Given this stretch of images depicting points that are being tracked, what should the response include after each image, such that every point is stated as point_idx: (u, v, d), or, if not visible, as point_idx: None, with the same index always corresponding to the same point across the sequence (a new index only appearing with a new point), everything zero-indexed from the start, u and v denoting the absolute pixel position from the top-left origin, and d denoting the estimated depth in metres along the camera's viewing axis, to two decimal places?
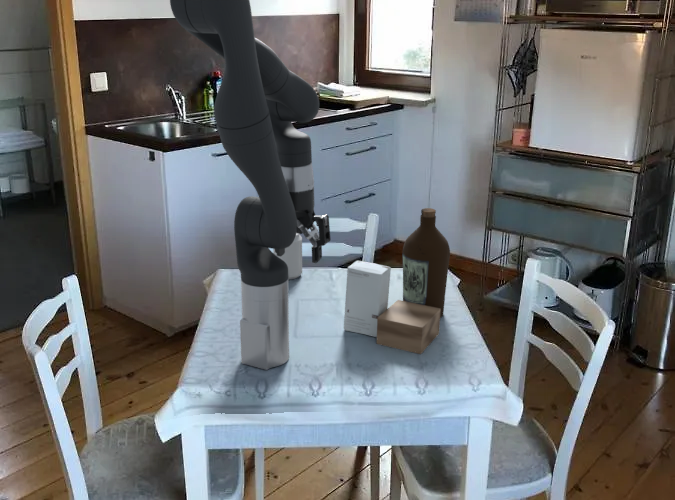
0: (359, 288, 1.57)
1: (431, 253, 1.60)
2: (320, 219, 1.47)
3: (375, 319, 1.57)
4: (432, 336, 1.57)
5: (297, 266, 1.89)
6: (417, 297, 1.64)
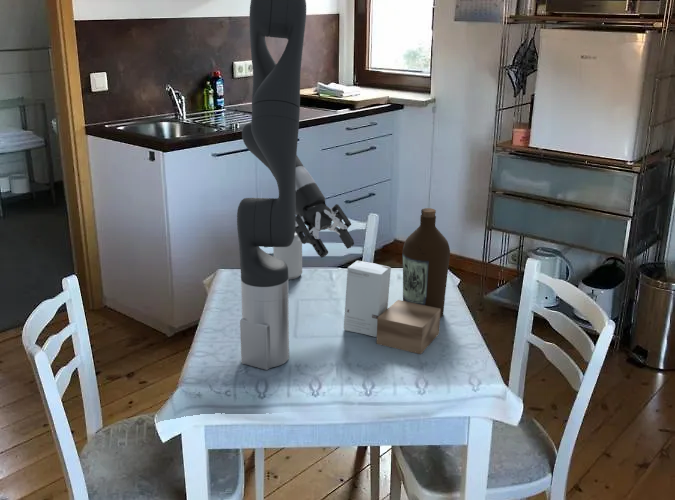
0: (359, 288, 1.57)
1: (431, 253, 1.60)
2: (336, 205, 1.68)
3: (375, 319, 1.57)
4: (432, 336, 1.57)
5: (297, 266, 1.89)
6: (417, 297, 1.64)
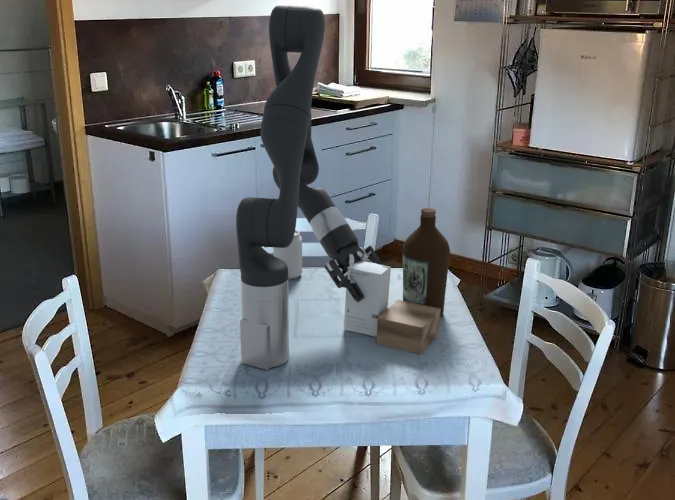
0: None
1: (431, 253, 1.60)
2: (370, 246, 1.64)
3: (375, 319, 1.57)
4: (432, 336, 1.57)
5: (297, 266, 1.89)
6: (417, 297, 1.64)
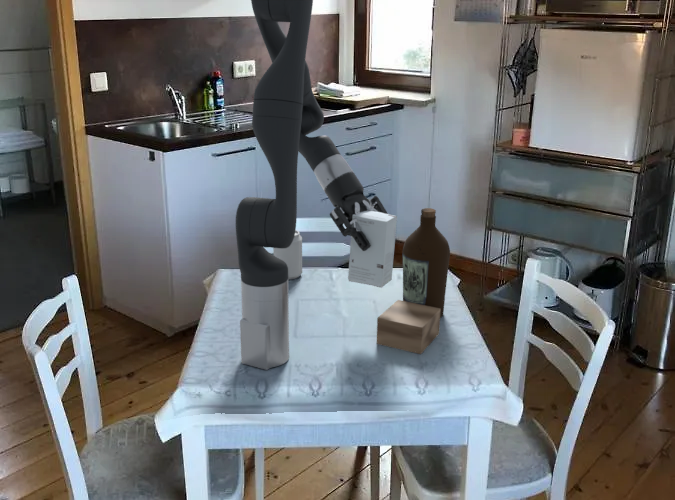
0: None
1: (431, 253, 1.60)
2: (375, 196, 1.60)
3: (380, 269, 1.53)
4: (432, 336, 1.57)
5: (297, 266, 1.89)
6: (417, 297, 1.64)
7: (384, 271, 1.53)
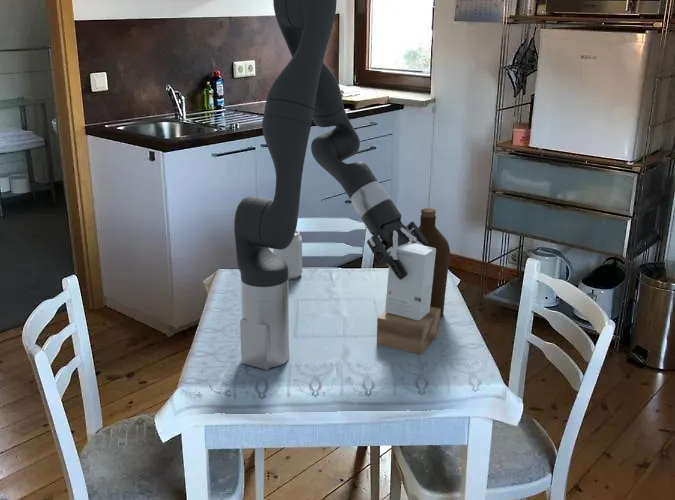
0: None
1: None
2: (412, 222, 1.58)
3: (418, 302, 1.51)
4: (432, 336, 1.57)
5: (297, 265, 1.89)
6: None
7: (422, 304, 1.51)
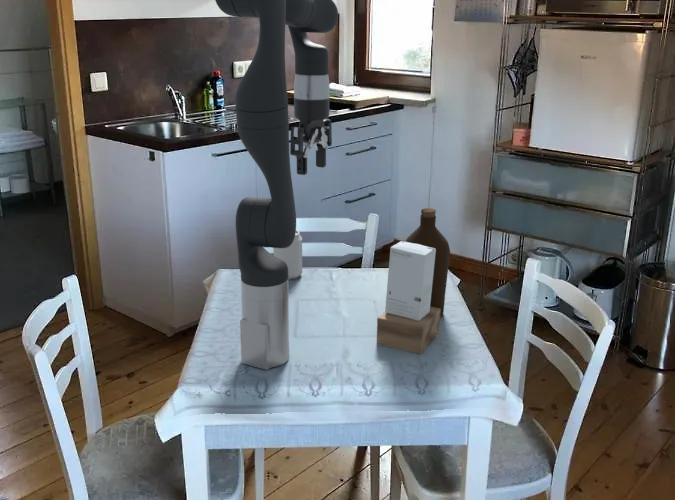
0: (402, 269, 1.51)
1: None
2: (330, 121, 1.63)
3: (418, 302, 1.51)
4: (432, 336, 1.57)
5: (297, 266, 1.89)
6: None
7: (422, 304, 1.51)
